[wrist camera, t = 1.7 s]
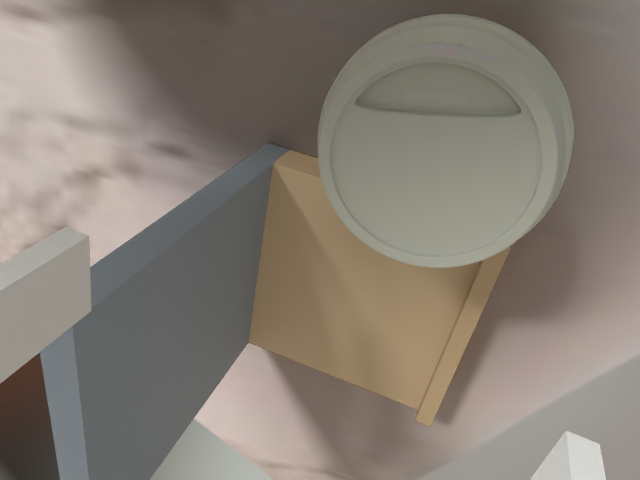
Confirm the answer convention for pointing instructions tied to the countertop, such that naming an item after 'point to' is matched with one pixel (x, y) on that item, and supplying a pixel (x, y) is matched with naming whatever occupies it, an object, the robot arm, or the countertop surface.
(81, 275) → the robot arm
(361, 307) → the grey board on stand
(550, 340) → the countertop surface
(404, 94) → the coffee cup
